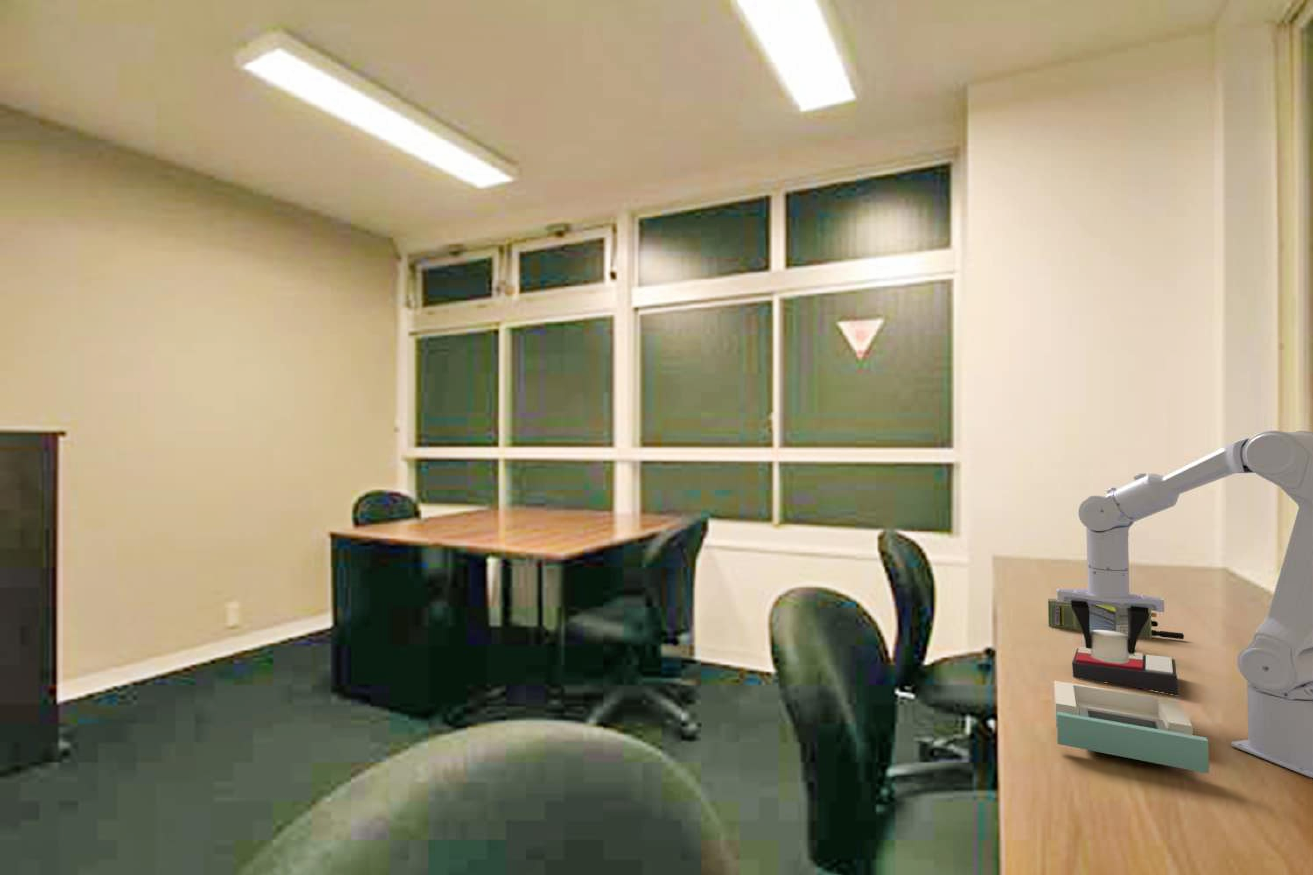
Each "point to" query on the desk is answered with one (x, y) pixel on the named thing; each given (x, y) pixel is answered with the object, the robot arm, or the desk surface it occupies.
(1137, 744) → the tray
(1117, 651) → the white dome-topped cylinder
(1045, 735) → the desk surface
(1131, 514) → the robot arm
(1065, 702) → the dock
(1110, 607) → the label tape box
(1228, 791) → the desk surface
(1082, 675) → the calculator
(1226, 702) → the desk surface
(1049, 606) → the handheld radio
